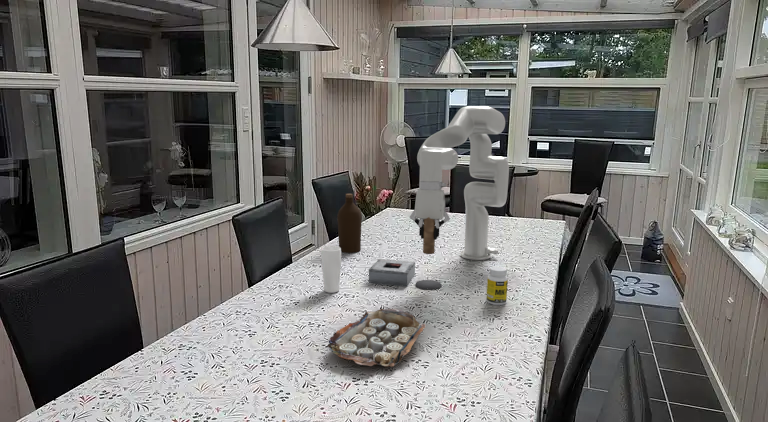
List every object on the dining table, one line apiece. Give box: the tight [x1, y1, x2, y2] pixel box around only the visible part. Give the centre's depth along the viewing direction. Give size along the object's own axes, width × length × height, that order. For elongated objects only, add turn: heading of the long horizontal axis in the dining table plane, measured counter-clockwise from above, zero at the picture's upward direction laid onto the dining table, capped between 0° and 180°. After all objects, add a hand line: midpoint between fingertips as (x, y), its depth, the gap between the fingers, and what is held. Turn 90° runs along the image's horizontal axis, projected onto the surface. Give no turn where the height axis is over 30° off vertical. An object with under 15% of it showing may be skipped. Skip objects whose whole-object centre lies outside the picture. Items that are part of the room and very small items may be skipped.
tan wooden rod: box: [422, 217, 436, 255], centre depth 182 cm, size 4×4×16 cm
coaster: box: [415, 279, 442, 291], centre depth 186 cm, size 9×9×1 cm
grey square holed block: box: [368, 258, 416, 287], centre depth 193 cm, size 14×14×5 cm
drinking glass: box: [320, 245, 342, 294], centre depth 179 cm, size 7×7×15 cm
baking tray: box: [327, 308, 426, 368], centre depth 138 cm, size 30×22×5 cm
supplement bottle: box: [485, 265, 509, 306], centre depth 170 cm, size 6×6×11 cm
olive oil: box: [336, 193, 363, 254], centre depth 229 cm, size 11×11×25 cm
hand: (429, 237), depth 183 cm, fingers closed on tan wooden rod, 4 cm apart
